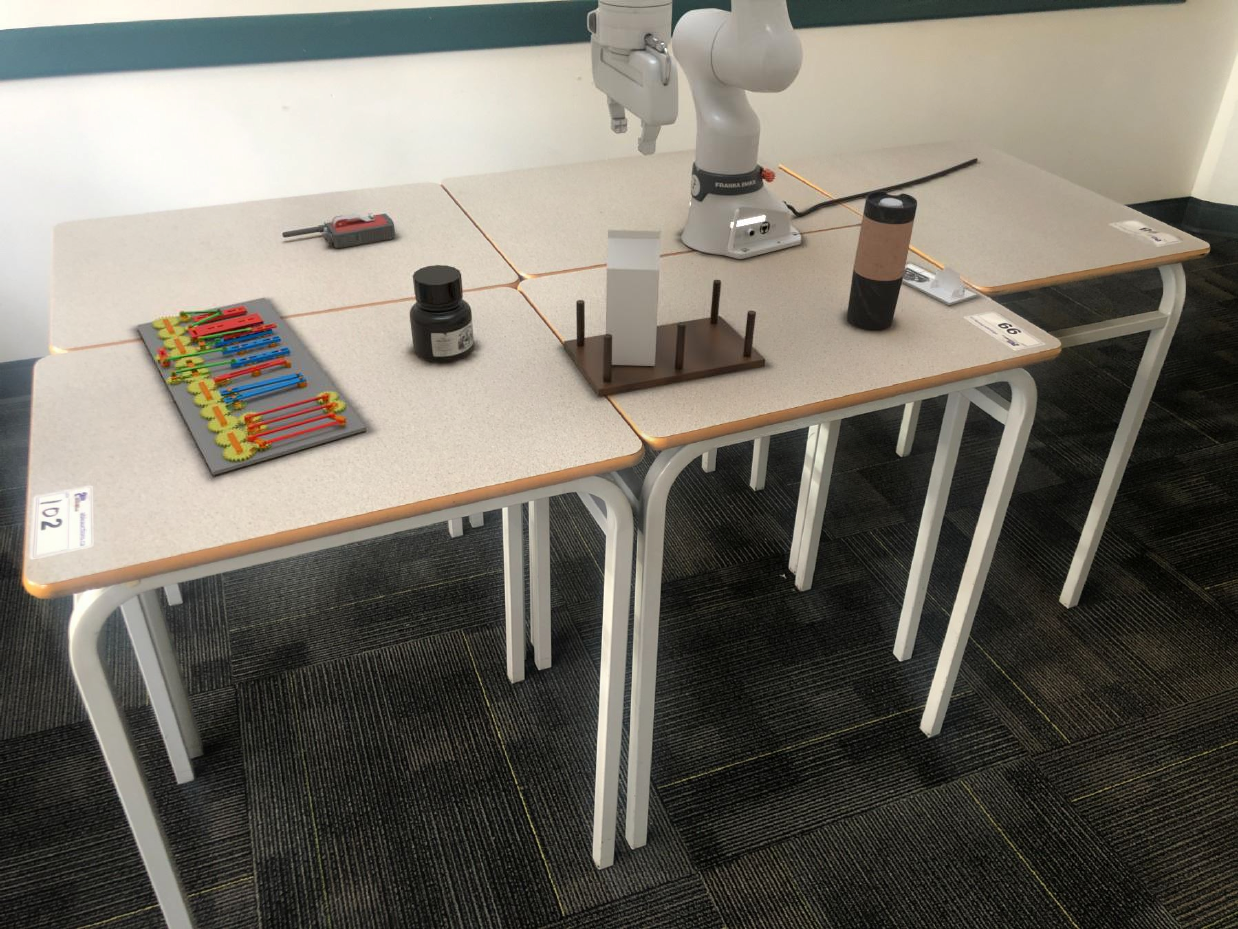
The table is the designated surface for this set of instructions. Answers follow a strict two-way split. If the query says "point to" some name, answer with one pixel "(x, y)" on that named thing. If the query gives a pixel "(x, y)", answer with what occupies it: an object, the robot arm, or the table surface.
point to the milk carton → (632, 295)
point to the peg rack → (667, 352)
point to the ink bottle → (440, 315)
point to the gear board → (246, 384)
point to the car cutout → (937, 284)
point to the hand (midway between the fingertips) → (632, 142)
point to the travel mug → (880, 259)
